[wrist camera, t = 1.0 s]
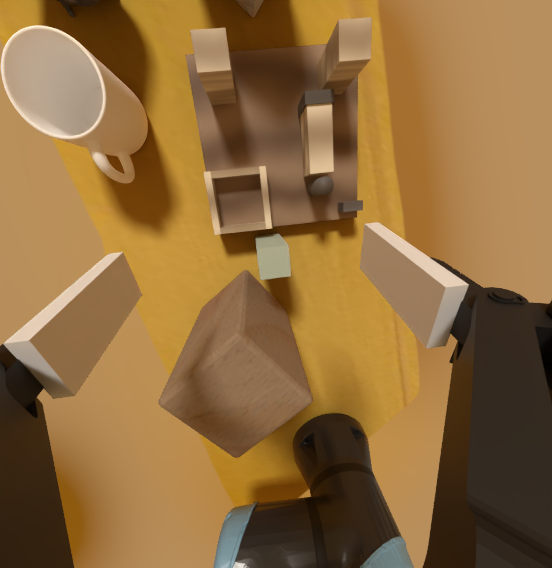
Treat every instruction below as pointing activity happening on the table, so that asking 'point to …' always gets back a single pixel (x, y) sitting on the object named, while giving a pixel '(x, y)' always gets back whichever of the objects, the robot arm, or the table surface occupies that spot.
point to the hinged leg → (317, 131)
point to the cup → (73, 97)
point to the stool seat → (275, 127)
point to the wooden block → (238, 369)
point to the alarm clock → (79, 1)
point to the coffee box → (250, 6)
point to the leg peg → (272, 256)
